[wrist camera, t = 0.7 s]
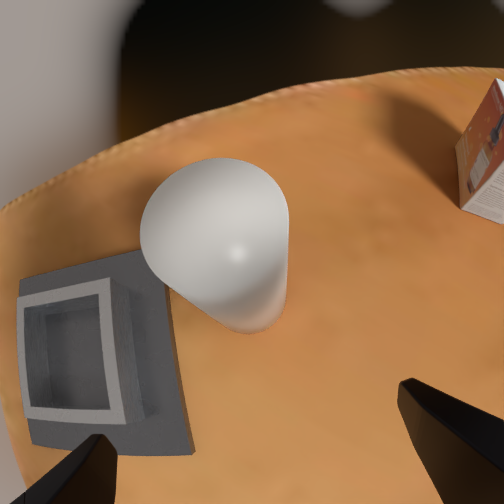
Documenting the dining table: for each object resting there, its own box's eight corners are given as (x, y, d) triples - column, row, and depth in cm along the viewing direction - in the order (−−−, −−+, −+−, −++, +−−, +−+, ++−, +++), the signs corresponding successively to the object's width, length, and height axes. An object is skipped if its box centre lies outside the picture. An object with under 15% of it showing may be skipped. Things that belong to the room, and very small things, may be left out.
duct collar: (195, 451, 19) (178, 466, 15) (39, 443, 19) (10, 447, 15) (164, 249, 25) (145, 228, 21) (26, 282, 25) (-1, 270, 21)
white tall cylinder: (263, 347, 21) (240, 325, 10) (197, 311, 23) (114, 252, 11) (298, 280, 23) (313, 188, 11) (233, 249, 24) (190, 142, 12)
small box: (453, 146, 26) (493, 74, 16) (494, 163, 25) (539, 100, 15) (458, 210, 23) (518, 140, 14) (502, 227, 22) (565, 169, 13)
